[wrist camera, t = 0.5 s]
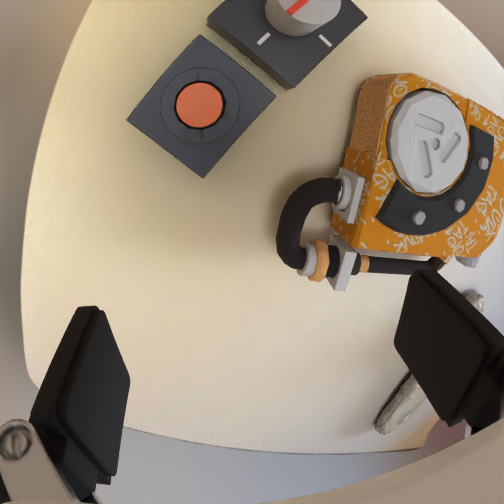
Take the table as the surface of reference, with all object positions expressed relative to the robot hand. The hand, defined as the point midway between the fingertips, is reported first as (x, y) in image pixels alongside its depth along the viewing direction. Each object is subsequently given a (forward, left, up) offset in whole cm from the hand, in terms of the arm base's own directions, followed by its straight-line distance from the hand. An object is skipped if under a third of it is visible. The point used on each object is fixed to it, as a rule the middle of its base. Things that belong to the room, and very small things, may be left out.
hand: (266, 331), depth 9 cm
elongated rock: (+3, +49, -24) cm, 54 cm away
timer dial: (-15, -6, -21) cm, 26 cm away
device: (-13, +16, -24) cm, 31 cm away
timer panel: (-15, -6, -24) cm, 29 cm away
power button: (-3, -6, -20) cm, 21 cm away
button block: (-3, -6, -24) cm, 25 cm away
